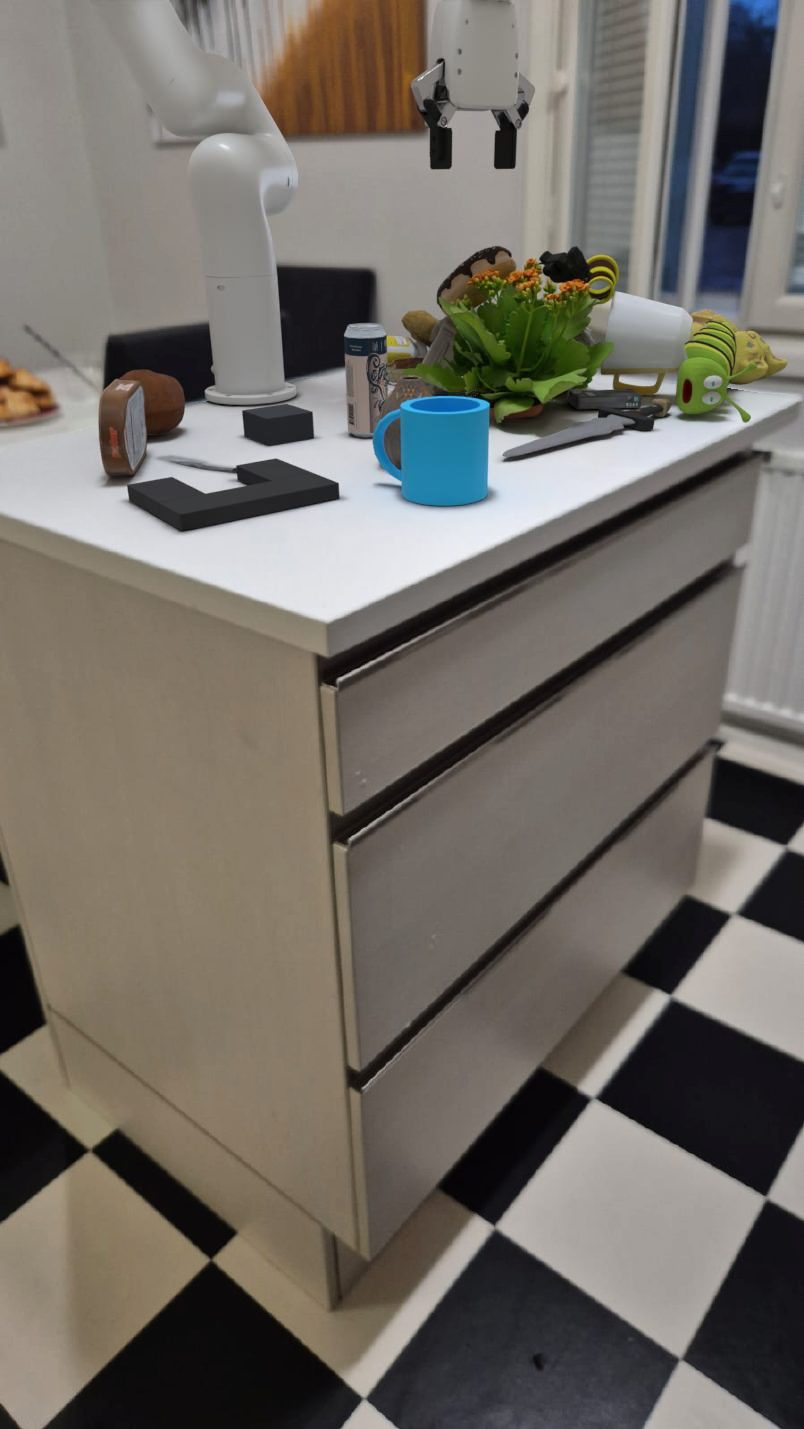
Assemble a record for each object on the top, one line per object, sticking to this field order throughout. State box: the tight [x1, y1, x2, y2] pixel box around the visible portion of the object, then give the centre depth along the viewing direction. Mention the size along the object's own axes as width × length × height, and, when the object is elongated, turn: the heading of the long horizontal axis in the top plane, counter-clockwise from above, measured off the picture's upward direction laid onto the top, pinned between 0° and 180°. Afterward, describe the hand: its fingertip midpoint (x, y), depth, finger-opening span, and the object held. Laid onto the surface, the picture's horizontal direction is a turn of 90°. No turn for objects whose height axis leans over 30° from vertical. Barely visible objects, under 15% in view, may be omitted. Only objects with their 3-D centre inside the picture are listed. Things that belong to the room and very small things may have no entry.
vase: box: [378, 376, 434, 469], centre depth 101 cm, size 7×7×9 cm
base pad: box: [126, 457, 340, 532], centre depth 93 cm, size 12×16×2 cm
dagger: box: [502, 398, 672, 458], centre depth 113 cm, size 8×32×2 cm, turn 143°
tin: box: [97, 378, 148, 477], centre depth 103 cm, size 15×3×8 cm, turn 5°
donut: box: [436, 245, 517, 316], centre depth 126 cm, size 11×12×4 cm
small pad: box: [241, 403, 315, 446], centre depth 115 cm, size 6×6×3 cm
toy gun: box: [538, 245, 593, 284], centre depth 123 cm, size 20×3×6 cm
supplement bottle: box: [387, 335, 428, 364], centre depth 150 cm, size 5×5×10 cm
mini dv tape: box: [567, 389, 642, 410], centre depth 128 cm, size 8×2×6 cm
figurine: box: [678, 308, 788, 386], centre depth 139 cm, size 11×9×15 cm
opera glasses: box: [558, 254, 620, 318], centre depth 127 cm, size 10×5×5 cm
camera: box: [422, 305, 480, 397], centre depth 136 cm, size 11×6×10 cm
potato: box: [118, 369, 186, 436], centre depth 116 cm, size 8×11×8 cm
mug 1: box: [372, 395, 490, 507], centre depth 93 cm, size 12×8×8 cm
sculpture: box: [401, 309, 440, 349], centre depth 154 cm, size 13×4×15 cm
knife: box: [169, 460, 237, 474], centre depth 104 cm, size 17×1×3 cm
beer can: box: [343, 322, 389, 439], centre depth 113 cm, size 5×5×12 cm
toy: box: [675, 320, 757, 424], centre depth 127 cm, size 8×28×10 cm
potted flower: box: [402, 258, 614, 424], centre depth 122 cm, size 25×24×18 cm
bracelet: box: [387, 356, 425, 384], centre depth 146 cm, size 9×9×3 cm
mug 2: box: [600, 290, 693, 396], centre depth 129 cm, size 14×10×10 cm
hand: (473, 169), depth 115 cm, fingers open, 9 cm apart
